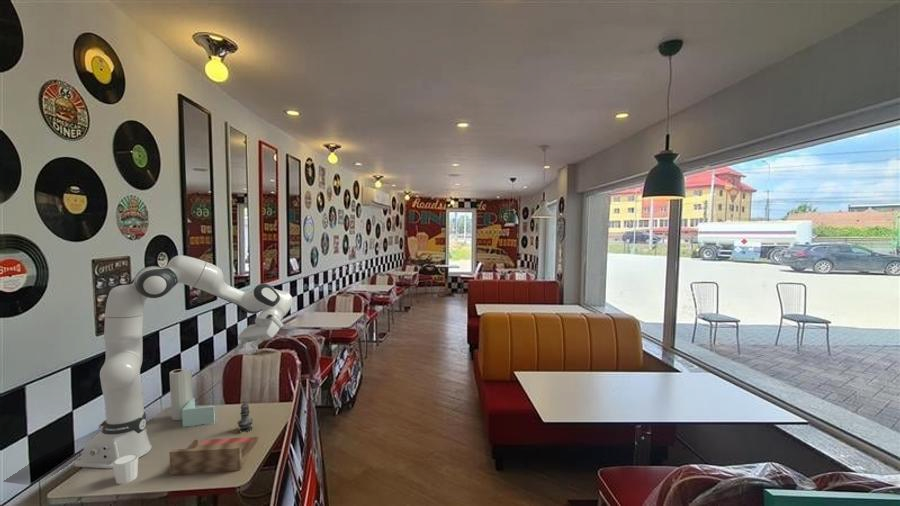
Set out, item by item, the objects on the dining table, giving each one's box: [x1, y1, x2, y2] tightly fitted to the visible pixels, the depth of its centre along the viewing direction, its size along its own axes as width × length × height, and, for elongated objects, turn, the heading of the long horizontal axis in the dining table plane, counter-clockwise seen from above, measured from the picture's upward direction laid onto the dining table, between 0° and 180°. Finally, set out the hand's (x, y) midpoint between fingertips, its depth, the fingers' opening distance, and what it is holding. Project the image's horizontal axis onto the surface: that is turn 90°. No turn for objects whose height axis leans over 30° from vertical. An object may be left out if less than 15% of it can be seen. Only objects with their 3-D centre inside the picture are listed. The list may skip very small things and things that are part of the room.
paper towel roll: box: [168, 368, 194, 421], centre depth 179 cm, size 7×6×21 cm
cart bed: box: [169, 436, 259, 475], centre depth 150 cm, size 23×21×8 cm
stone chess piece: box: [237, 401, 254, 433], centre depth 169 cm, size 6×6×12 cm
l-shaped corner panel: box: [181, 397, 216, 428], centre depth 179 cm, size 12×12×8 cm
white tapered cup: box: [112, 454, 139, 485], centre depth 137 cm, size 7×7×7 cm
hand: (245, 347), depth 165 cm, fingers open, 8 cm apart
